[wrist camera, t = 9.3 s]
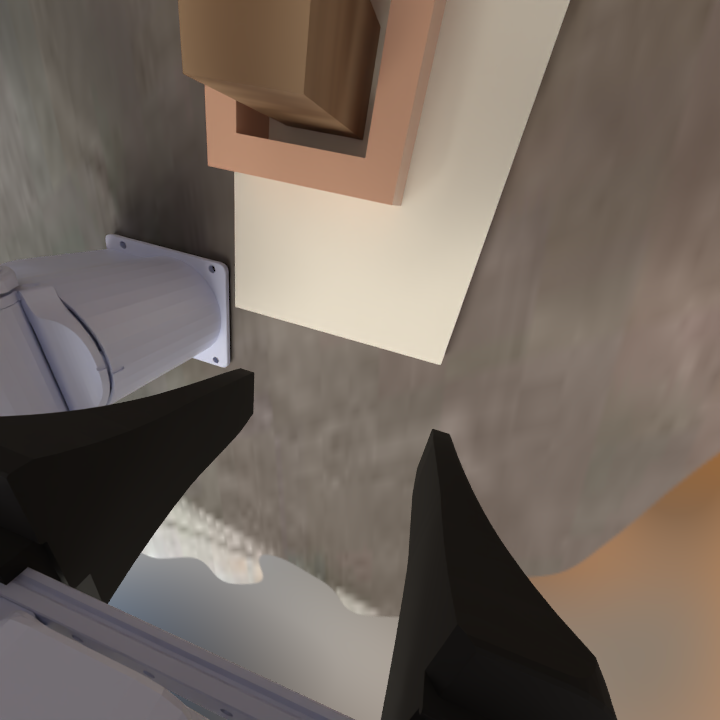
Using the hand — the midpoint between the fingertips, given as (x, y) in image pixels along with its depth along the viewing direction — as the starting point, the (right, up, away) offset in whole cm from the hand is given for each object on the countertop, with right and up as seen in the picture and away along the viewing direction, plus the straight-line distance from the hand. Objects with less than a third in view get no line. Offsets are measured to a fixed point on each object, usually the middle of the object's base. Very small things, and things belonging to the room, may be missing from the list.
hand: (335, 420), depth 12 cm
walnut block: (0, +15, +2) cm, 15 cm away
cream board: (+1, +12, +5) cm, 13 cm away
